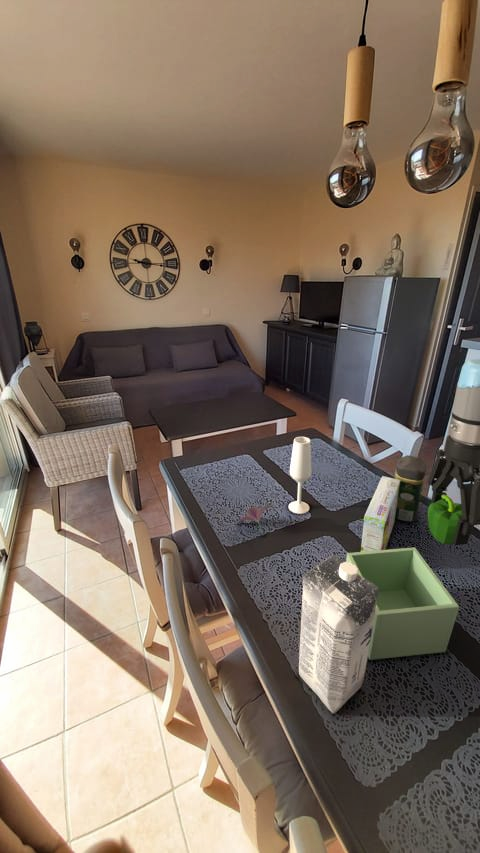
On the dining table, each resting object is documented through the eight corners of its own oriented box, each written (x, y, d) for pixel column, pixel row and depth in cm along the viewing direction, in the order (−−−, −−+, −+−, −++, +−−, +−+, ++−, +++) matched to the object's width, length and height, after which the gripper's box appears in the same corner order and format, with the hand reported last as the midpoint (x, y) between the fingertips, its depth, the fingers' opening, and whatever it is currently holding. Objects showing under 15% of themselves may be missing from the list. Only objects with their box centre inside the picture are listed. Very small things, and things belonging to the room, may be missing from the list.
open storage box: (406, 588, 86) (414, 547, 81) (445, 652, 72) (459, 606, 66) (342, 594, 85) (346, 553, 80) (369, 660, 71) (377, 614, 65)
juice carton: (334, 725, 61) (349, 612, 50) (291, 673, 69) (296, 566, 58) (367, 691, 65) (387, 581, 55) (323, 646, 73) (333, 542, 62)
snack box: (375, 517, 110) (381, 474, 104) (394, 522, 108) (402, 479, 101) (357, 562, 94) (363, 515, 88) (379, 570, 91) (388, 522, 85)
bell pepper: (474, 550, 78) (485, 511, 74) (435, 550, 78) (444, 512, 74) (454, 524, 85) (462, 489, 81) (418, 525, 86) (425, 489, 82)
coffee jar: (391, 501, 117) (399, 451, 110) (418, 508, 114) (428, 456, 106) (386, 518, 109) (395, 465, 102) (415, 526, 106) (426, 471, 98)
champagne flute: (286, 511, 114) (288, 443, 104) (290, 499, 120) (292, 434, 110) (308, 515, 112) (312, 446, 102) (310, 502, 118) (314, 436, 108)
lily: (280, 521, 111) (269, 492, 111) (282, 533, 99) (270, 501, 99) (243, 534, 112) (233, 505, 112) (241, 547, 100) (229, 515, 100)
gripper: (421, 419, 81) (406, 503, 90) (488, 465, 62) (461, 566, 71) (453, 417, 82) (435, 500, 91) (529, 462, 62) (497, 562, 71)
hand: (446, 529), depth 81 cm, fingers closed on bell pepper, 8 cm apart
